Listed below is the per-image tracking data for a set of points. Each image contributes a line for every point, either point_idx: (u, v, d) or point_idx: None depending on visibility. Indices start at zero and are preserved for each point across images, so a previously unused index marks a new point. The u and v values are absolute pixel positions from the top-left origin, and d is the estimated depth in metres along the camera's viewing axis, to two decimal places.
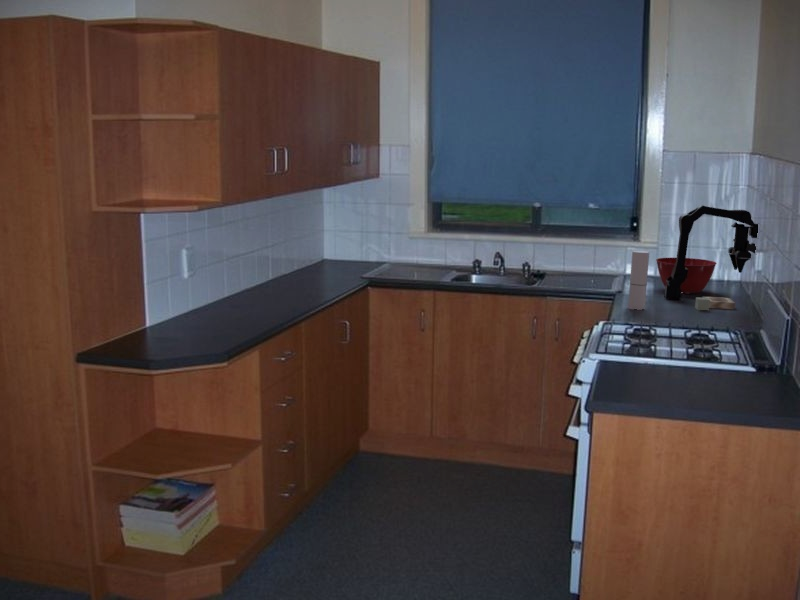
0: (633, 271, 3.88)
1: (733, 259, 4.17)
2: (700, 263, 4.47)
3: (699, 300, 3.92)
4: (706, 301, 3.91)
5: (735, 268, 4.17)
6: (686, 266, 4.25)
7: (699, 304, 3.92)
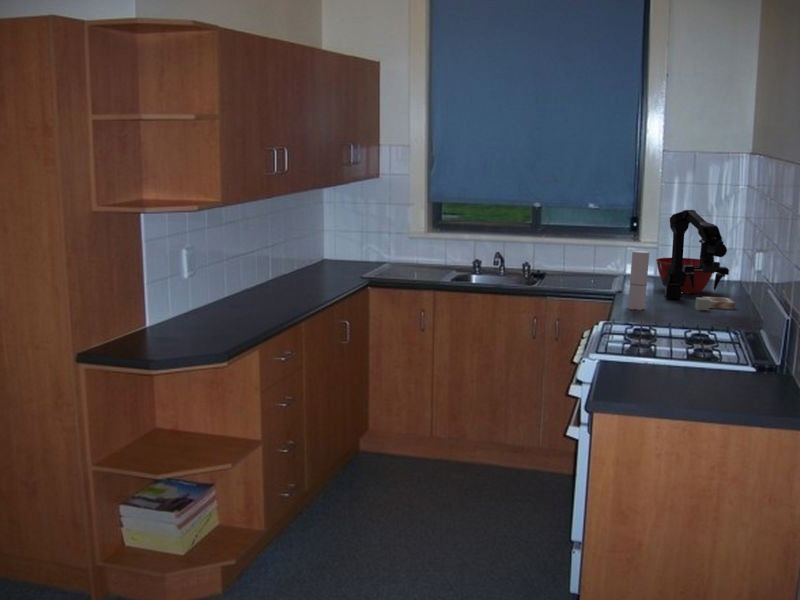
0: (633, 271, 3.88)
1: (715, 278, 3.93)
2: None
3: (699, 300, 3.92)
4: (706, 301, 3.91)
5: (714, 288, 3.93)
6: None
7: (699, 304, 3.92)
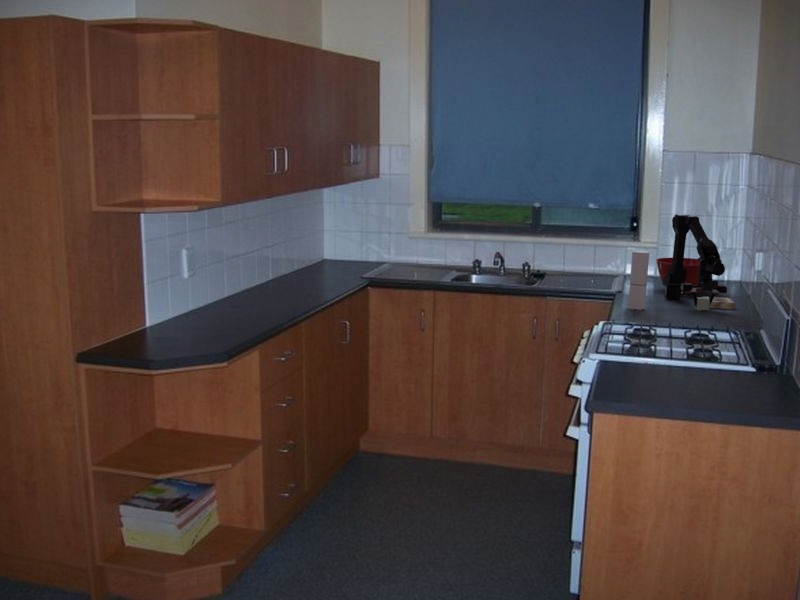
0: (633, 271, 3.88)
1: (709, 296, 3.94)
2: None
3: (699, 300, 3.92)
4: (706, 301, 3.91)
5: None
6: (686, 266, 4.25)
7: (699, 304, 3.92)
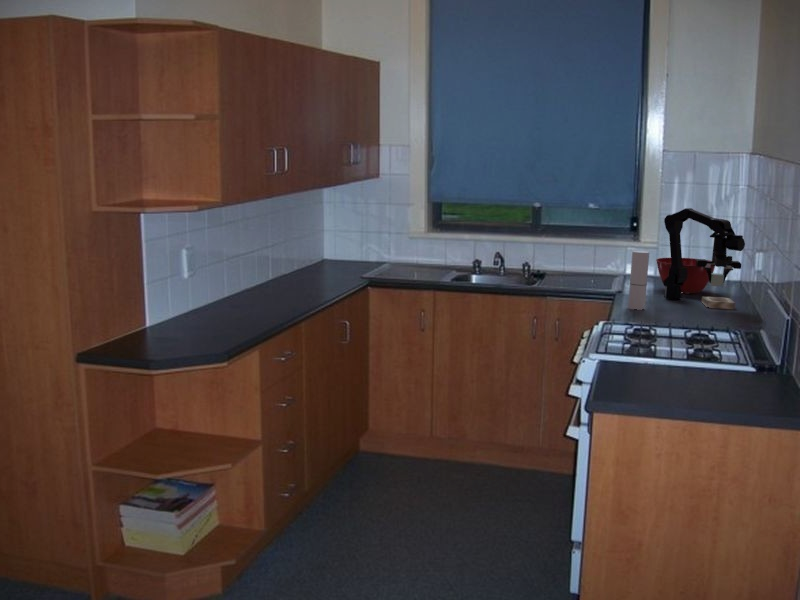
0: (633, 271, 3.88)
1: (723, 272, 4.00)
2: None
3: (713, 275, 3.97)
4: (720, 276, 3.97)
5: None
6: (686, 266, 4.25)
7: (713, 279, 3.97)
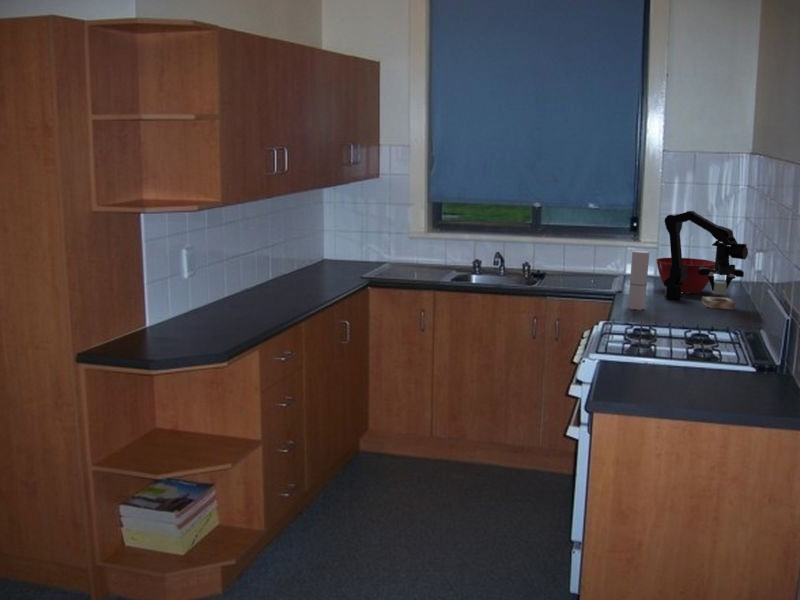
0: (633, 271, 3.88)
1: (726, 280, 4.03)
2: (700, 263, 4.47)
3: (716, 284, 4.00)
4: (723, 285, 4.00)
5: None
6: (686, 266, 4.25)
7: (716, 288, 4.00)
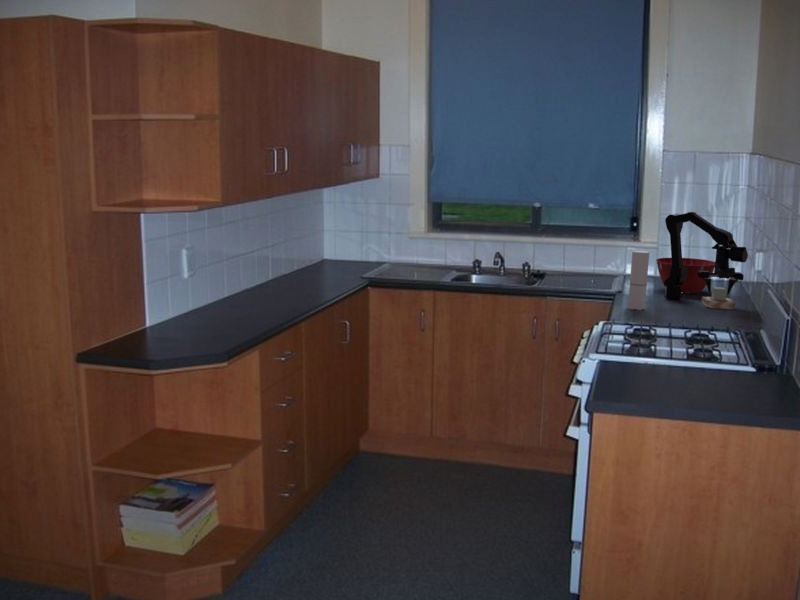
0: (633, 271, 3.88)
1: (728, 283, 4.03)
2: (700, 263, 4.47)
3: (716, 290, 4.01)
4: (723, 290, 4.00)
5: (727, 293, 4.03)
6: (686, 266, 4.25)
7: (716, 293, 4.01)
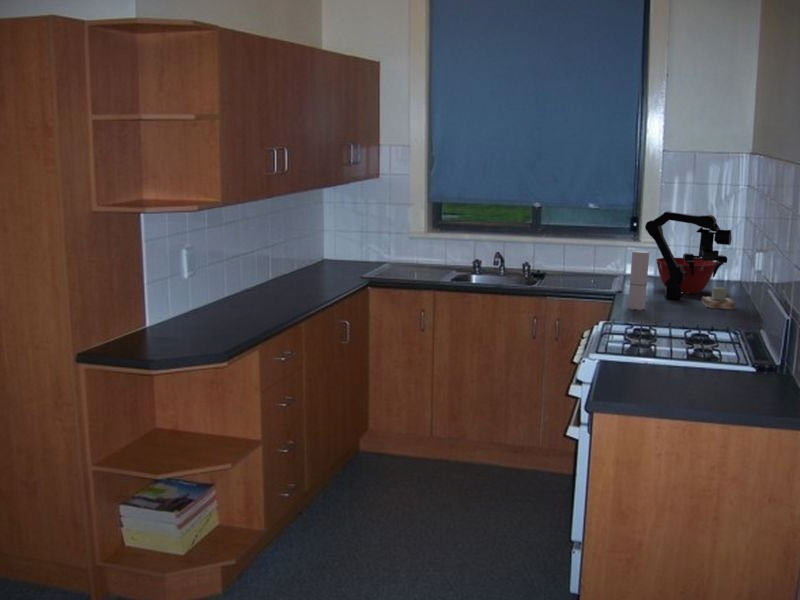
0: (633, 271, 3.88)
1: (714, 266, 4.10)
2: (700, 263, 4.47)
3: (716, 290, 4.01)
4: (723, 290, 4.00)
5: (713, 276, 4.10)
6: (686, 266, 4.25)
7: (716, 293, 4.01)
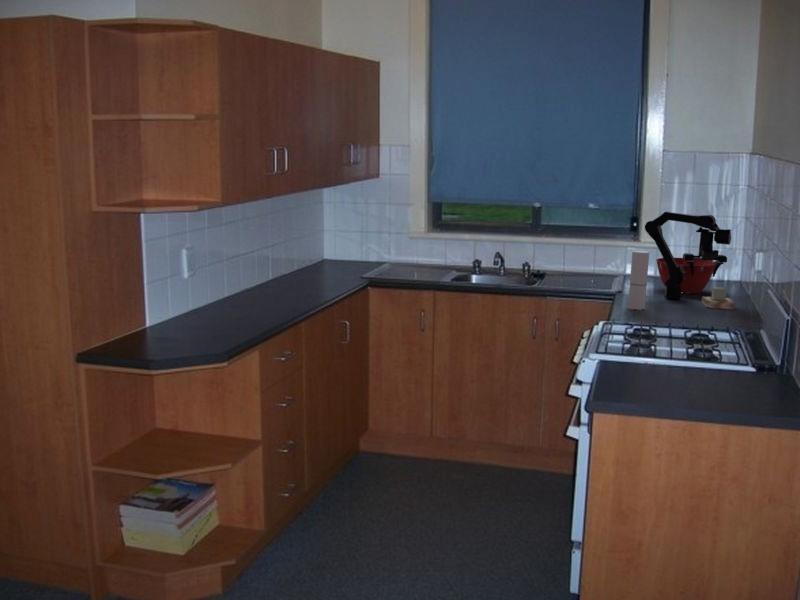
0: (633, 271, 3.88)
1: (714, 266, 4.10)
2: (700, 263, 4.47)
3: (716, 290, 4.01)
4: (723, 290, 4.00)
5: (713, 275, 4.10)
6: (686, 266, 4.25)
7: (716, 293, 4.01)
